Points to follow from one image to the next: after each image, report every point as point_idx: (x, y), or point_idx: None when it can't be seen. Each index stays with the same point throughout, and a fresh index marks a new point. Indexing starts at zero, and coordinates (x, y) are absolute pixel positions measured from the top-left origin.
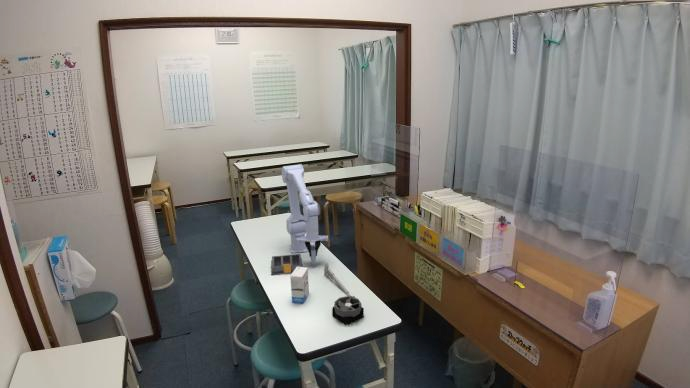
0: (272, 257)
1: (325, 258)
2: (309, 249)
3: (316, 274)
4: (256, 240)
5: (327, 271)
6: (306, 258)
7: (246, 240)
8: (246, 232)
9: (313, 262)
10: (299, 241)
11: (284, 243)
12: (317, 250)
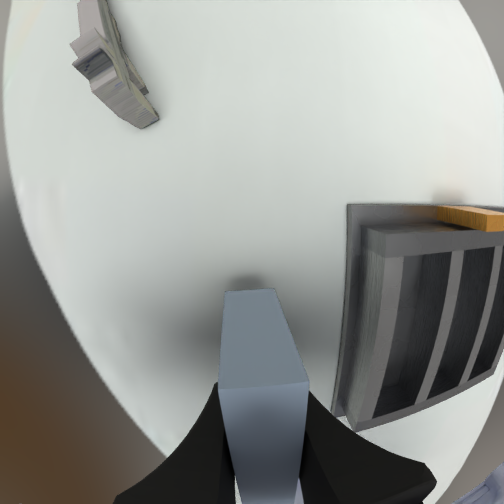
0: (496, 363)
1: (159, 405)
2: (331, 440)
3: (231, 142)
4: (436, 477)
5: (116, 44)
6: None
7: (456, 467)
8: (434, 493)
9: (257, 293)
10: (488, 494)
11: None
12: (195, 431)
